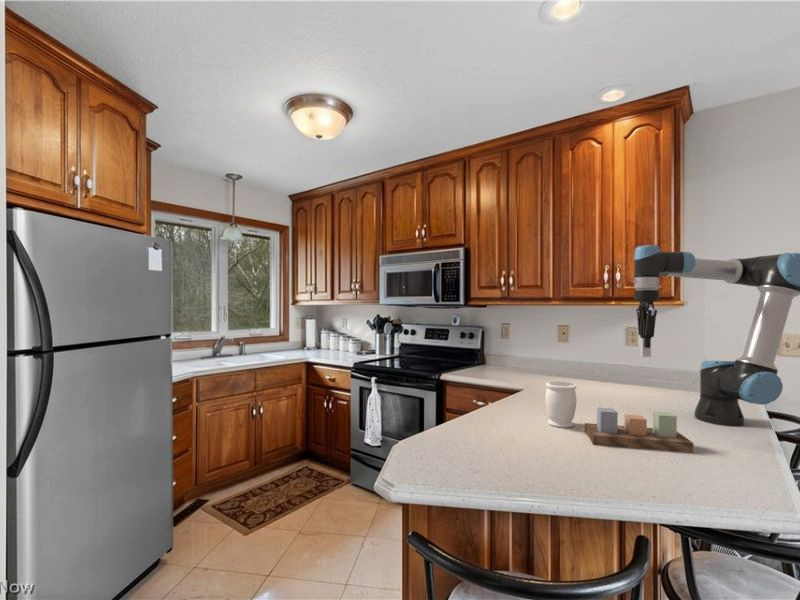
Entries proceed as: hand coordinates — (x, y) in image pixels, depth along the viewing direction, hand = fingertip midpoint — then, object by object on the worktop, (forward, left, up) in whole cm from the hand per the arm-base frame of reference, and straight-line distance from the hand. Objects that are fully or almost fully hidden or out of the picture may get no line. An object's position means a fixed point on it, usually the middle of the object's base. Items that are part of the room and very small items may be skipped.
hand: (645, 356), depth 145 cm
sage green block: (-1, +13, -24) cm, 27 cm away
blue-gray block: (+16, +13, -24) cm, 31 cm away
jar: (+28, 0, -27) cm, 39 cm away
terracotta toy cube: (+7, +13, -26) cm, 30 cm away
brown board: (+7, +13, -26) cm, 30 cm away
